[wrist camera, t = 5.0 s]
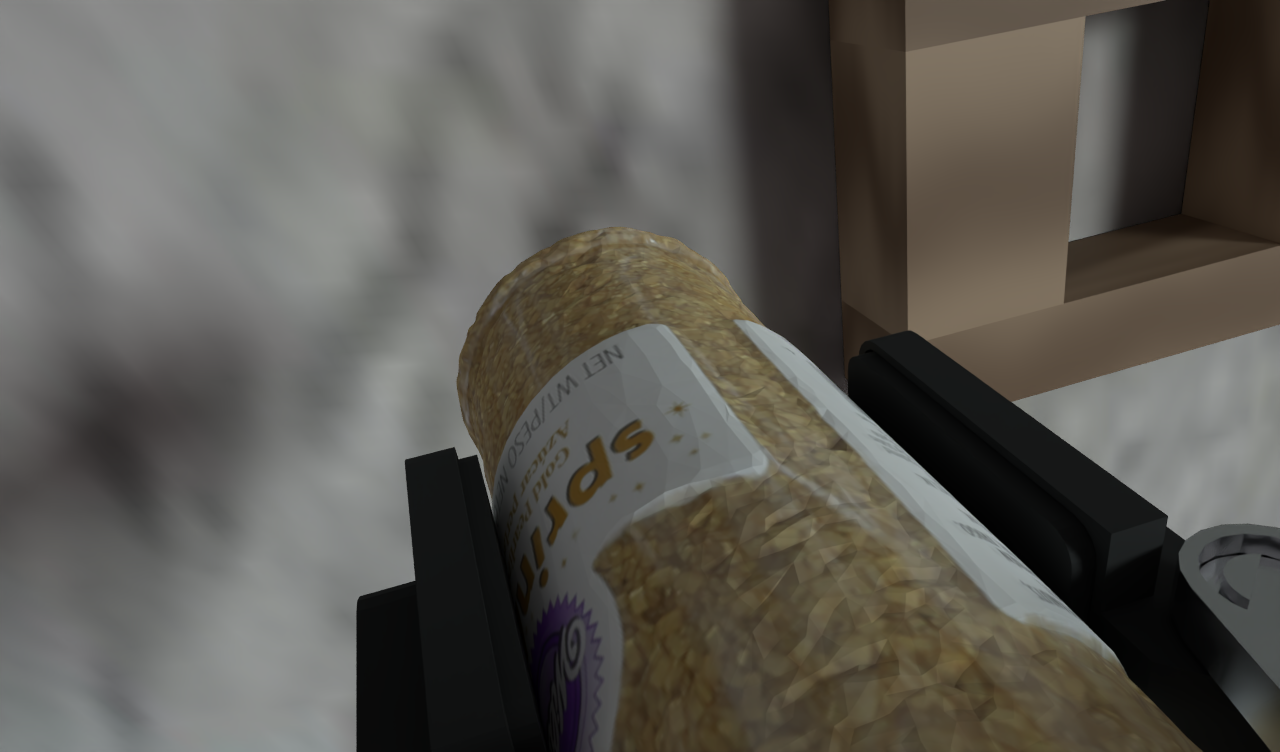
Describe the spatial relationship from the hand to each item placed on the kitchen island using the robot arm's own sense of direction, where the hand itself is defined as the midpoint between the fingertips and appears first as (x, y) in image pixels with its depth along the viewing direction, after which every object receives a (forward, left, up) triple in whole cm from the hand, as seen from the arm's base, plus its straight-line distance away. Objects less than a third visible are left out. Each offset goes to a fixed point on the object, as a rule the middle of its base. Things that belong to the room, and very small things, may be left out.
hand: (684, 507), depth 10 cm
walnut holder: (+1, +17, -13) cm, 21 cm away
